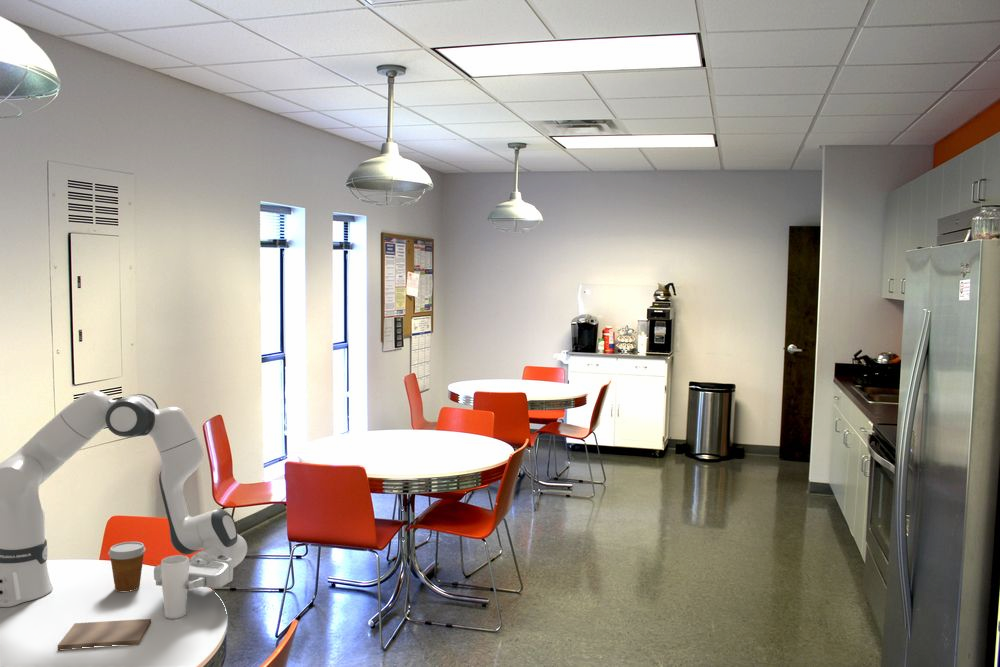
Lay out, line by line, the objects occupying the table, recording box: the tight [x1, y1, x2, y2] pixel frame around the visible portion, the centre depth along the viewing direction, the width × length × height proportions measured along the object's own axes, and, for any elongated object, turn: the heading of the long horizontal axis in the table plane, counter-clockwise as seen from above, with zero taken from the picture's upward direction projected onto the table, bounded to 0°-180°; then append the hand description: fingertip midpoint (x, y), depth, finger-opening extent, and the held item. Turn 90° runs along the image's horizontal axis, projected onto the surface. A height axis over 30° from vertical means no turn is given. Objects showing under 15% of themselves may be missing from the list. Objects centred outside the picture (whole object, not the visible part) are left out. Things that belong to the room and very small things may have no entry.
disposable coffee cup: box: [107, 541, 146, 592], centre depth 220 cm, size 10×10×12 cm
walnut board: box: [57, 618, 152, 651], centre depth 191 cm, size 18×12×1 cm, turn 101°
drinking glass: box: [160, 554, 190, 620], centre depth 203 cm, size 7×7×15 cm
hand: (172, 584), depth 202 cm, fingers open, 8 cm apart
